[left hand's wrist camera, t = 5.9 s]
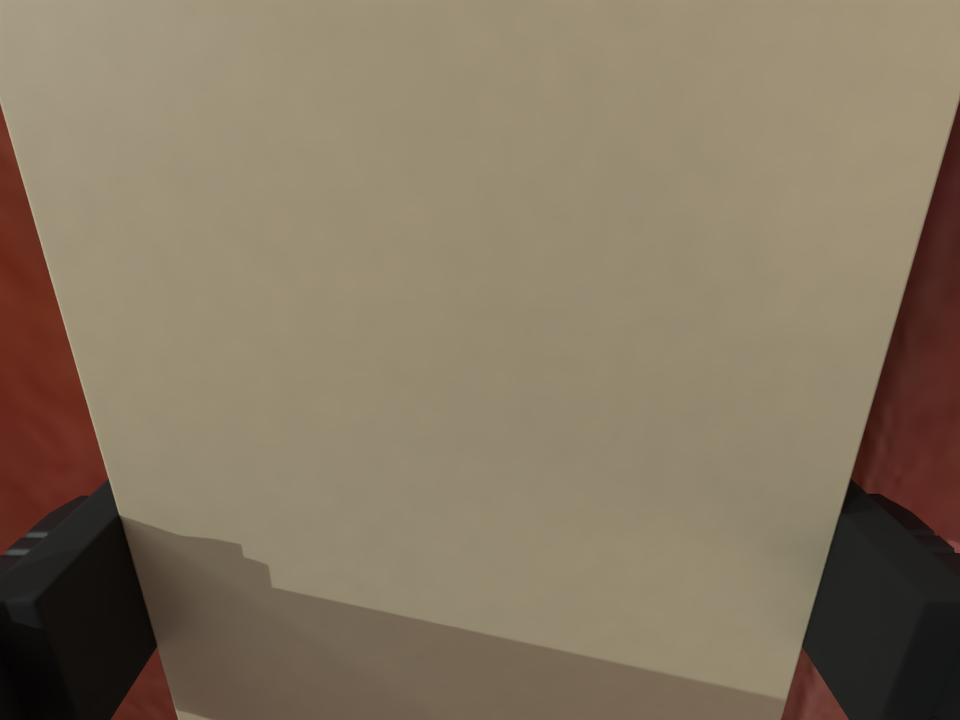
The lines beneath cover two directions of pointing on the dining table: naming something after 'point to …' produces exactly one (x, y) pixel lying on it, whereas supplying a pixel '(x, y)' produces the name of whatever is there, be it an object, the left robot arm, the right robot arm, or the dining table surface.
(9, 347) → the dining table surface
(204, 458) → the cream rectangular box
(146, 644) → the left robot arm
